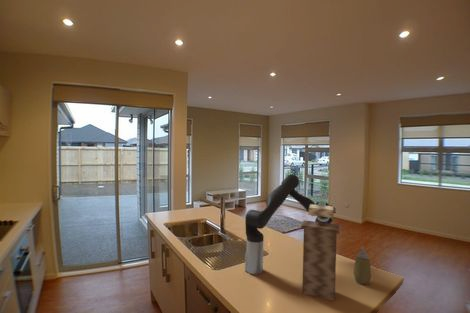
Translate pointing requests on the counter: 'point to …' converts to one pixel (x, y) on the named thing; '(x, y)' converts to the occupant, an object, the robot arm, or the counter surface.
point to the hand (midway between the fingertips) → (322, 203)
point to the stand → (319, 259)
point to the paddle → (321, 210)
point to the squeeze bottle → (362, 268)
